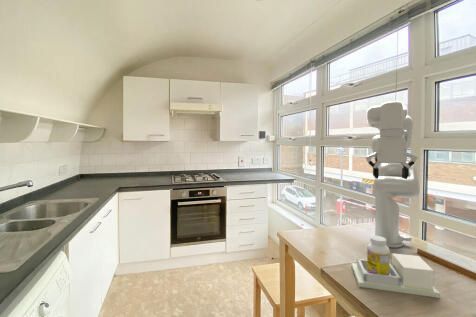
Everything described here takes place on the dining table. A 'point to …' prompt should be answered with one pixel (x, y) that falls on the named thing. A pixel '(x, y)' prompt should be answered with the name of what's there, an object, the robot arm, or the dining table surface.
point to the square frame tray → (399, 276)
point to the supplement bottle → (378, 256)
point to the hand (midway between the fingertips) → (390, 178)
